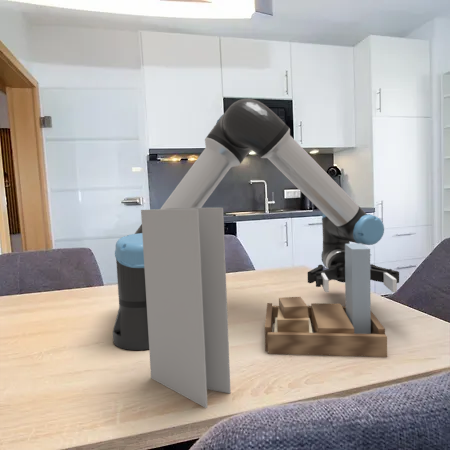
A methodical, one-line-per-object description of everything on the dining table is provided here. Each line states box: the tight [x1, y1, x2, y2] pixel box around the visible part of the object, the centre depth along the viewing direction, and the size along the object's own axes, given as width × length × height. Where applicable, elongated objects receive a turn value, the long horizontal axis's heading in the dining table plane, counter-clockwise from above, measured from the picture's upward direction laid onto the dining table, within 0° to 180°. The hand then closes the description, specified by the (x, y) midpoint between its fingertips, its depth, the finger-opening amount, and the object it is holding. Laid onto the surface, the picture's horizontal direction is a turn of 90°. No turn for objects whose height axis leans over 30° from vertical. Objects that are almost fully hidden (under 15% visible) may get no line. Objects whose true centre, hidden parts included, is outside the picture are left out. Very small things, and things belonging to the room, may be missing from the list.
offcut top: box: [278, 296, 309, 319], centre depth 79 cm, size 5×7×2 cm
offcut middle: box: [277, 309, 309, 333], centre depth 79 cm, size 6×9×3 cm
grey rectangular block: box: [344, 243, 372, 334], centre depth 77 cm, size 4×8×20 cm, turn 171°
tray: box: [264, 302, 388, 358], centre depth 79 cm, size 23×18×5 cm
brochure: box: [140, 207, 232, 409], centre depth 60 cm, size 14×6×30 cm, turn 47°
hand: (360, 285), depth 75 cm, fingers open, 13 cm apart
